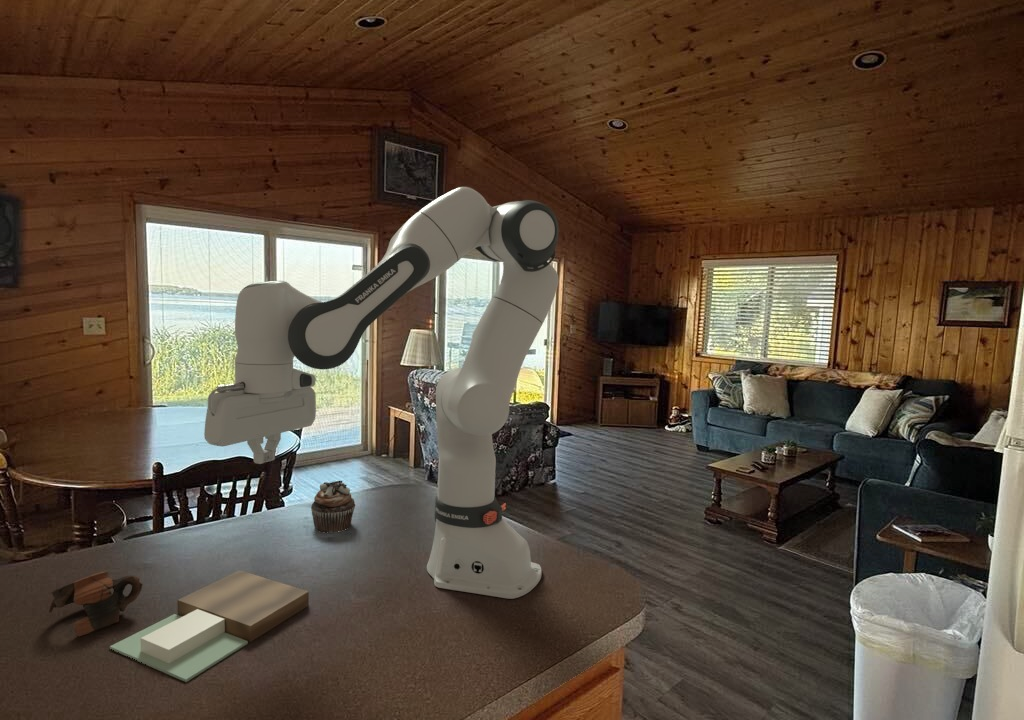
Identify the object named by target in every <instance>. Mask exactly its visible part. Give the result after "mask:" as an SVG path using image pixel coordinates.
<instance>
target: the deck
mask: <svg viewBox="0 0 1024 720" xmlns="http://www.w3.org/2000/svg"><path fill="white" fill-rule="evenodd" d="M309 594H310V591H308V590H306V589H303V588H300V587H296V586H292V585H289V584H286V583H283V582H280V581H276V580H273V579H269V578H266V577H263V576H260V575H257V574H253V573H250V572H247V571H244V570H237V571H235V572H233V573H231V574H229V575H226V576H225V577H222V578H221V579H219V580H216V581H214V582H212V583H210V584H208V585H206V586H204V587H202V588H199V589H197V590H196V591H194V592H193V591H192V592H191V593H189V594H187V595H185V596H183V597H181V598H178V599H177V600H176V601H177V603H176V604H177V615H179V616H181V617H183V616H185V615H187V614H189V613H191V612H193V611H195V610H197V609H199V610H201V611H204V612H207V613H210V614H212V615H215V616H218V617H221V618H223V619H225V632H224V633H227V634H230V635H233V636H235V637H238V638H241V639H243V640H246V641H248V642H250V643H251V642H253V641H255V640H256V639H258V638H260V637H261V636H263V635H264V634H265V633H267V632H269V631H271V630H272V629H274V628H275V627H277V626H278V625H280V624H282V623H283V622H285V621H286V620H287V619H289V618H291V617H293V616H295V614H296V615H297V613H299V612H301V611H302V610H303V609H305V608H307V607H308V606H309V600H310V599H309Z"/></svg>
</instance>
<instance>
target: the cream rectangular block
mask: <svg viewBox="0 0 1024 720" xmlns="http://www.w3.org/2000/svg"><path fill="white" fill-rule="evenodd" d="M223 632H224V633H225V619H223V618H221V617H218V616H215V615H212V614H210V613H207V612H204V611H201V610H199V609H197V610H195V611H193V612H191V613H189V614H187V615H185V616H183V617H182V616H181V618H179V619H177V620H175V621H173V622H171V623H169V624H167V625H165V626H163V627H161V628H159V629H157V630H155V631H153V632H151V633H150V634H148V635H146V636H144V637H142V638H141V652H143V653H146V654H148V655H150V656H153V657H155V658H157V659H160V660H162V661H164V662H167V663H171V662H173V661H174V660H176V659H178V658H180V657H181V656H183V655H185V654H186V653H188V652H190V651H192V650H193V649H195V648H197V647H199V646H200V645H202V644H204V643H206V642H207V641H209V640H211V639H213V638H214V637H216V636H218V635H220V634H221V633H223Z"/></svg>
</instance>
